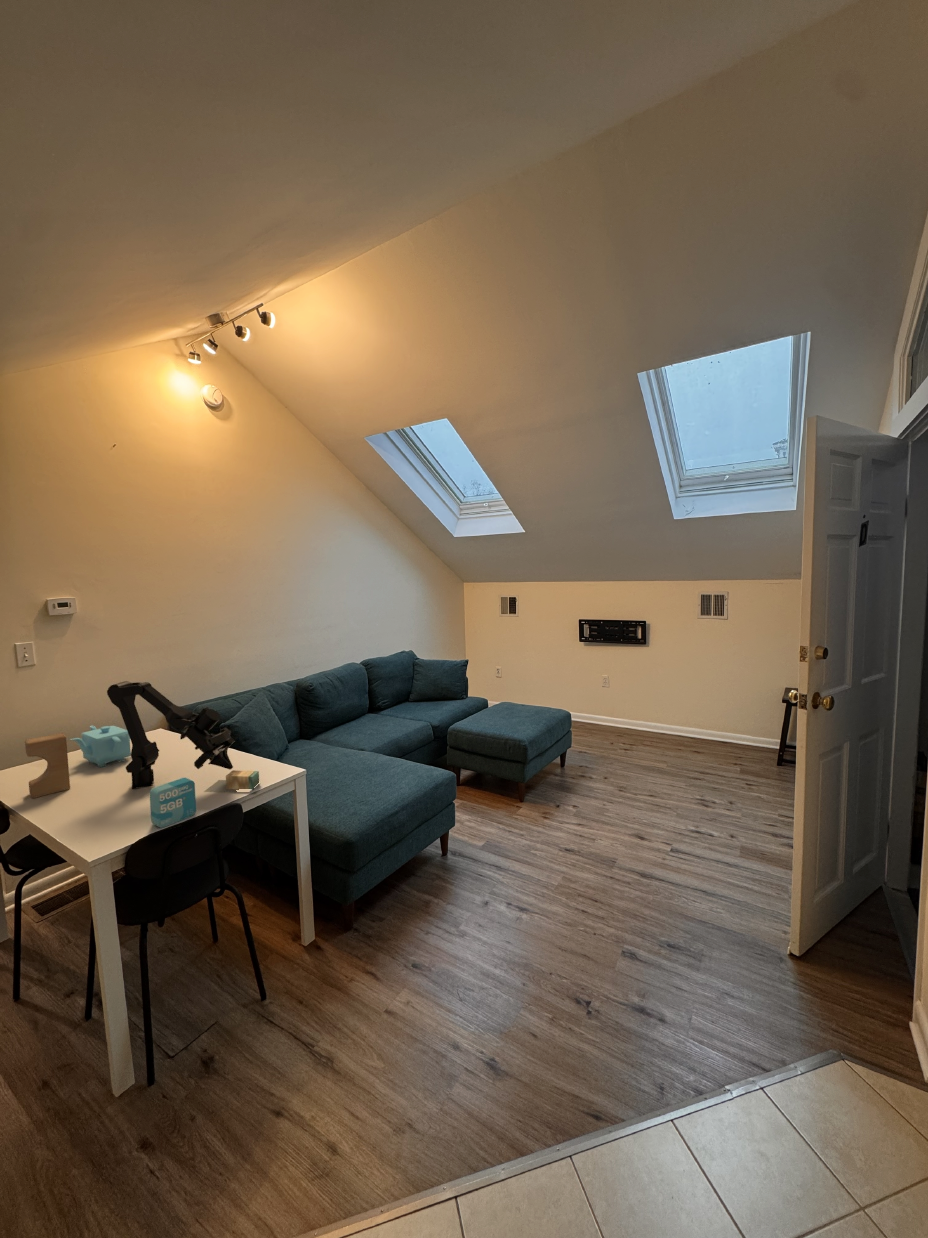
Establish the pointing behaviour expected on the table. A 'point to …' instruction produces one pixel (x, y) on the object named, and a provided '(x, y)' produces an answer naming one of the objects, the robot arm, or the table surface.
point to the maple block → (242, 779)
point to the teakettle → (104, 744)
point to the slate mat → (220, 787)
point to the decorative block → (49, 764)
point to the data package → (172, 802)
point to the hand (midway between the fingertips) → (231, 768)
